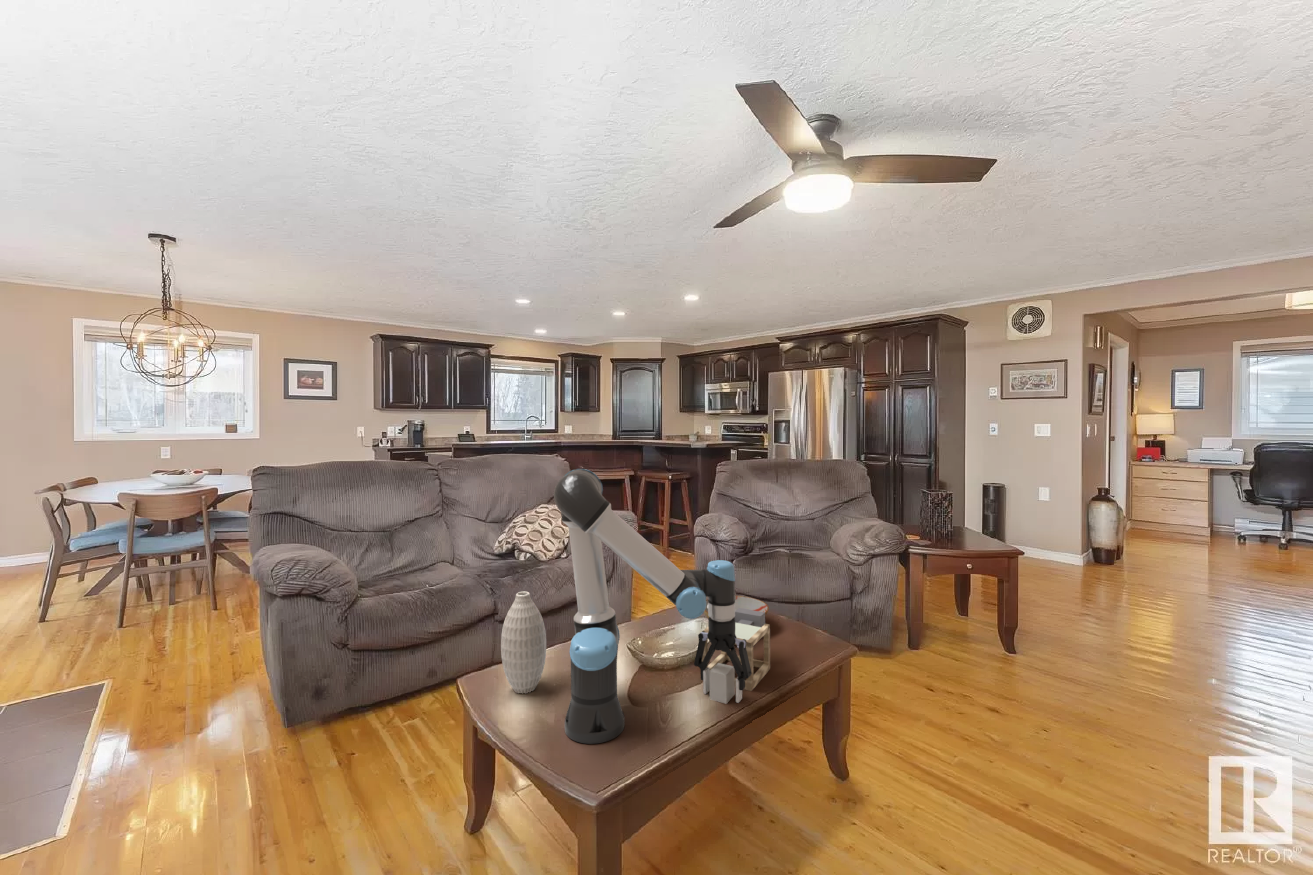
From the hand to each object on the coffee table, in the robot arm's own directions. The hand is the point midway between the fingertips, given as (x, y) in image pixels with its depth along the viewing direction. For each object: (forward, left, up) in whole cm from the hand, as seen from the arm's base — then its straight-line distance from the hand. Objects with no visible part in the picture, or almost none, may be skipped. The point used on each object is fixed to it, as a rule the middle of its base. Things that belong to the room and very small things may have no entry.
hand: (722, 695), depth 155 cm
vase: (-24, +52, 0) cm, 57 cm away
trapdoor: (+19, +2, +10) cm, 21 cm away
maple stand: (+15, +2, 0) cm, 15 cm away
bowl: (+50, +17, -1) cm, 53 cm away
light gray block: (0, 0, 0) cm, 0 cm away
